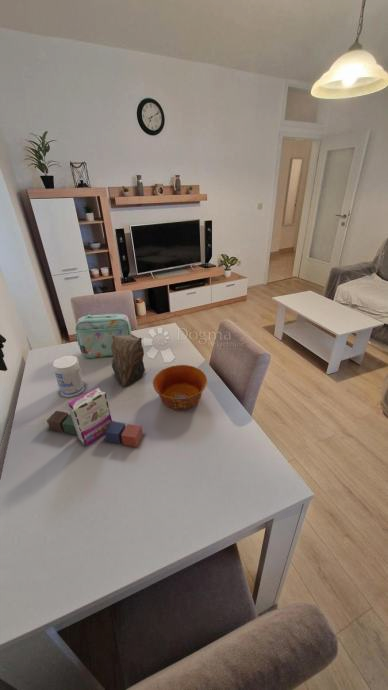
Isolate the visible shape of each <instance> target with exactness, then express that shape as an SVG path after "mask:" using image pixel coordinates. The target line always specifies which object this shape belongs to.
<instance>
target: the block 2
mask: <svg viewBox="0 0 388 690" xmlns="http://www.w3.org/2000/svg"><path fill="white" fill-rule="evenodd" d="M62 425H63V428H64V431H63V432H64V433H65V434H68V435H74V436H78V435H77V431H76V429H75V426H74V422H73V419H72V416H71V413H69V416H68V417H67V418H66V419H65V421H64V422H63V423H62Z"/></svg>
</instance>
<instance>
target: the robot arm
mask: <svg viewBox="0 0 388 690" xmlns="http://www.w3.org/2000/svg"><path fill="white" fill-rule="evenodd" d="M6 342H7V338H5V337H4V336H3V334H1V333H0V371H2V372H6V371H8V367H7V365H6V362H5V354H4V351H3V349H4V347H5V345H4V344H5V343H6ZM3 343H4V344H3Z"/></svg>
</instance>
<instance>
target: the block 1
mask: <svg viewBox="0 0 388 690" xmlns="http://www.w3.org/2000/svg"><path fill="white" fill-rule="evenodd" d="M69 415H70V413H69V412H66V411H60V410H55V411H54V412H53V413H52V414H51V415H50V416H49V418H48V419H47V420H46V422H47V425H48V428H49V430H50V431H54V432H60V433H63V432H65V431H64V428H63V425H62V423H63V422H64V421H65V419H66V418H67V417H68V416H69Z"/></svg>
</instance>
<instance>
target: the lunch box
mask: <svg viewBox="0 0 388 690" xmlns="http://www.w3.org/2000/svg"><path fill="white" fill-rule="evenodd" d="M74 327H75V328H74V329H75V334H76V339H75V343H77V345H78V346H79V350H80V353H81V354H82V356H83V357H84V358H87V359H94V358H104V357H114V356H113V354H112V350H111V345H112V343H113V339H112V336H115V335H119V336H123V335H130V334H132V328H131V322H130V318H129V317H128V316H127V314H123V313H104V314H90V313H89V314H87V315H85V316H81V317H79V318H78V319H77V323H76V324H75V326H74Z"/></svg>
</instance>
